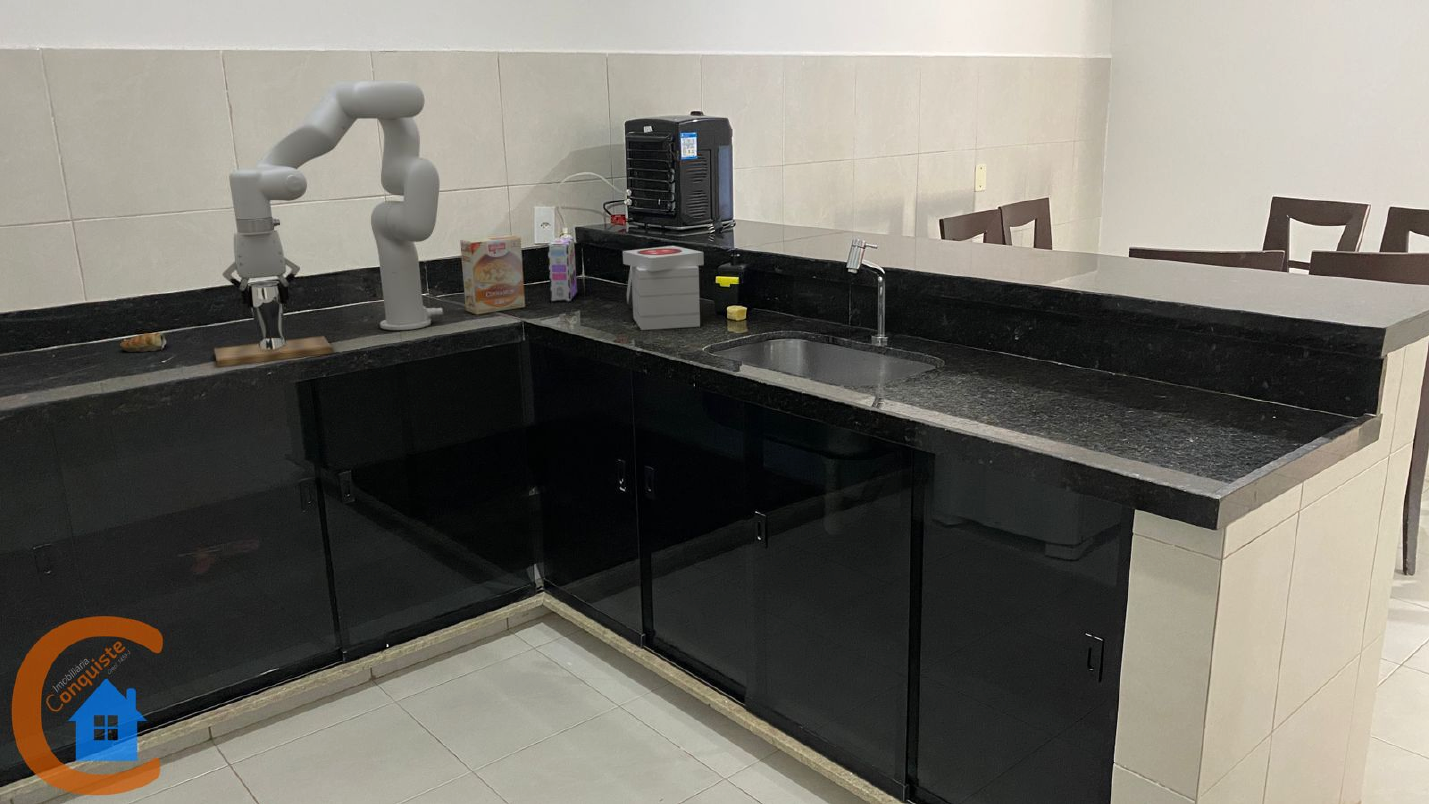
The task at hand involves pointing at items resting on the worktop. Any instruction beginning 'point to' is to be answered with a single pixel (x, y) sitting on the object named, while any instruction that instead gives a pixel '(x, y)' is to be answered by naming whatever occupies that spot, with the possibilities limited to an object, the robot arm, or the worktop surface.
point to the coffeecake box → (492, 274)
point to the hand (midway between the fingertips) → (266, 304)
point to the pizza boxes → (664, 286)
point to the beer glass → (268, 314)
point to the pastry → (144, 342)
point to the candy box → (562, 269)
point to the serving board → (253, 354)
